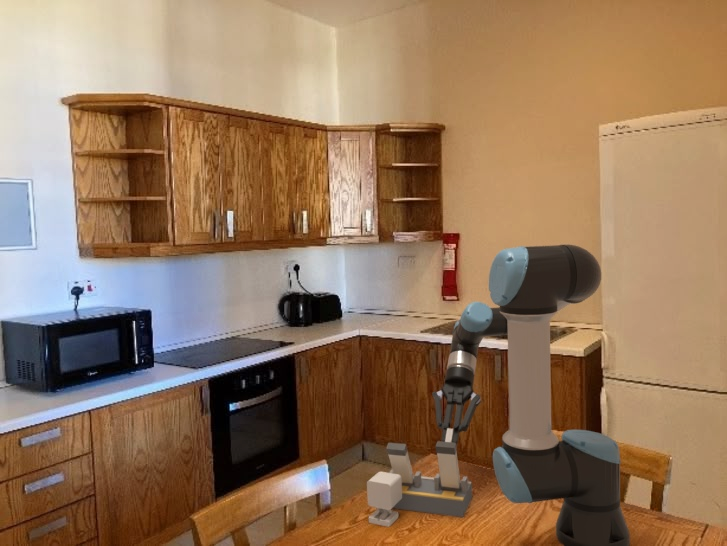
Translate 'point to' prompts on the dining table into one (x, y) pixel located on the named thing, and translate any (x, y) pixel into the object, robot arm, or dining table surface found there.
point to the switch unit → (435, 496)
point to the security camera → (384, 497)
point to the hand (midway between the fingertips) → (447, 455)
